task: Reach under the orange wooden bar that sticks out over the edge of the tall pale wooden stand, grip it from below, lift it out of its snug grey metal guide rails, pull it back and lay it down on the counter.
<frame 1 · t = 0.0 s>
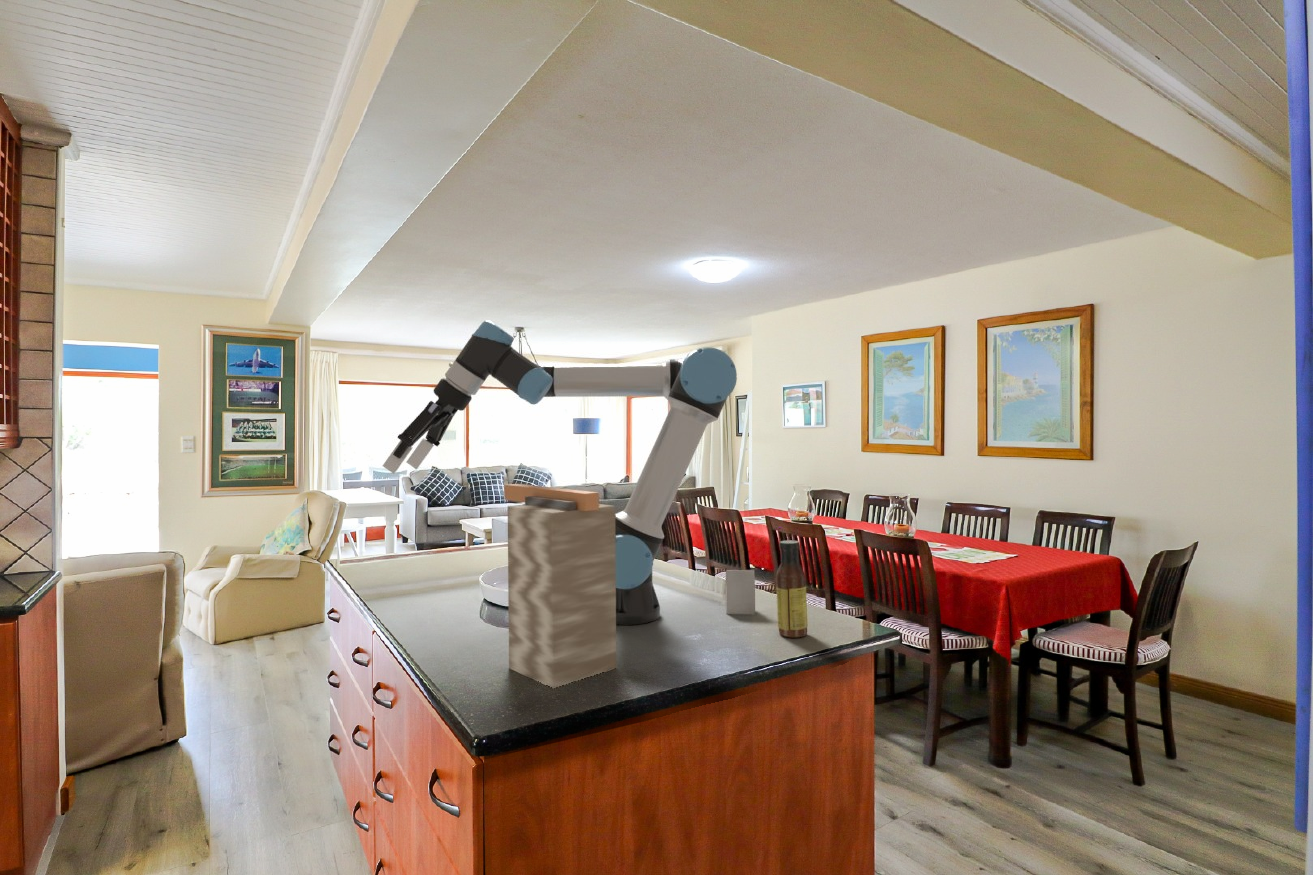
hand: (400, 467, 148), 36 cm above the countertop, tool tilted 35°, fingers open, 13 cm apart
sauce bottle: (791, 635, 148), on the countertop
light grey block: (740, 612, 166), on the countertop
pale stand: (562, 668, 128), on the countertop
orange bar: (548, 504, 130), point 30 cm above the countertop, touching pale stand
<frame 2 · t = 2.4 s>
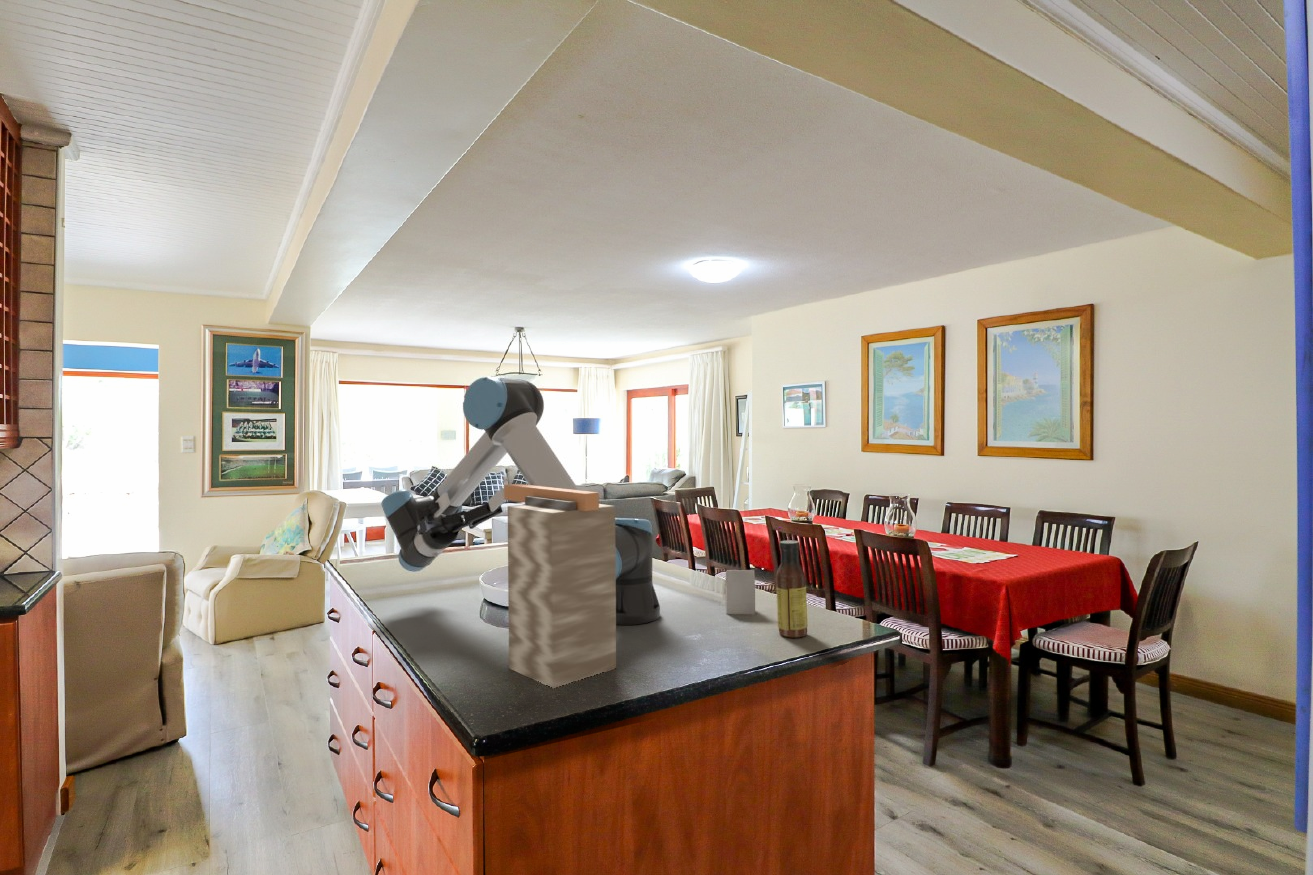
hand: (476, 495, 149), 30 cm above the countertop, tool pointing upward, fingers open, 13 cm apart
nothing on the countertop moved.
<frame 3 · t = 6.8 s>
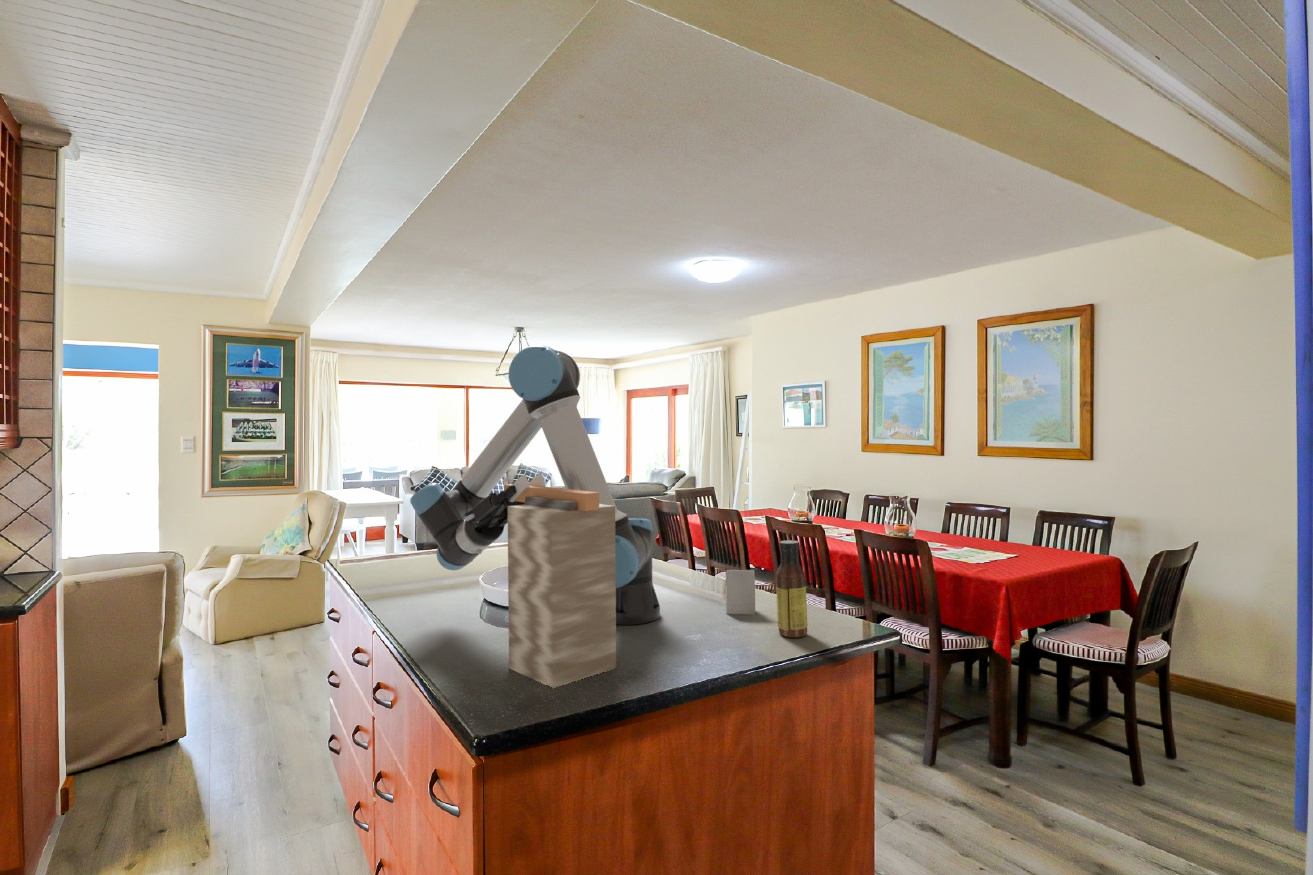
hand: (534, 480, 134), 34 cm above the countertop, tool pointing upward, fingers closed on orange bar, 3 cm apart
orange bar: (548, 504, 130), point 30 cm above the countertop, touching gripper, pale stand
everything else where it was.
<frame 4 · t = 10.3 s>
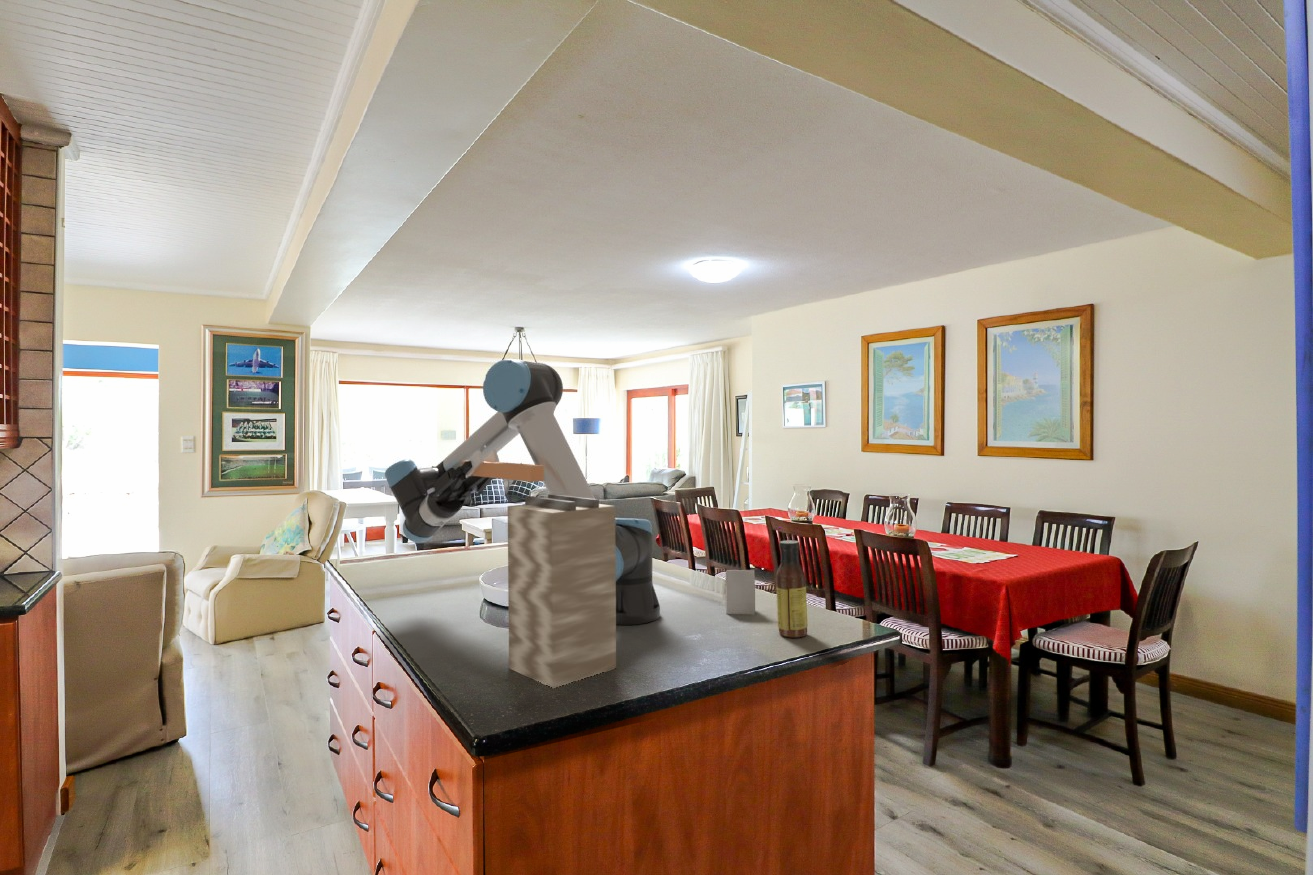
hand: (488, 456, 146), 38 cm above the countertop, tool pointing upward, fingers closed on orange bar, 3 cm apart
orange bar: (500, 477, 142), point 34 cm above the countertop, touching gripper
everything else where it was.
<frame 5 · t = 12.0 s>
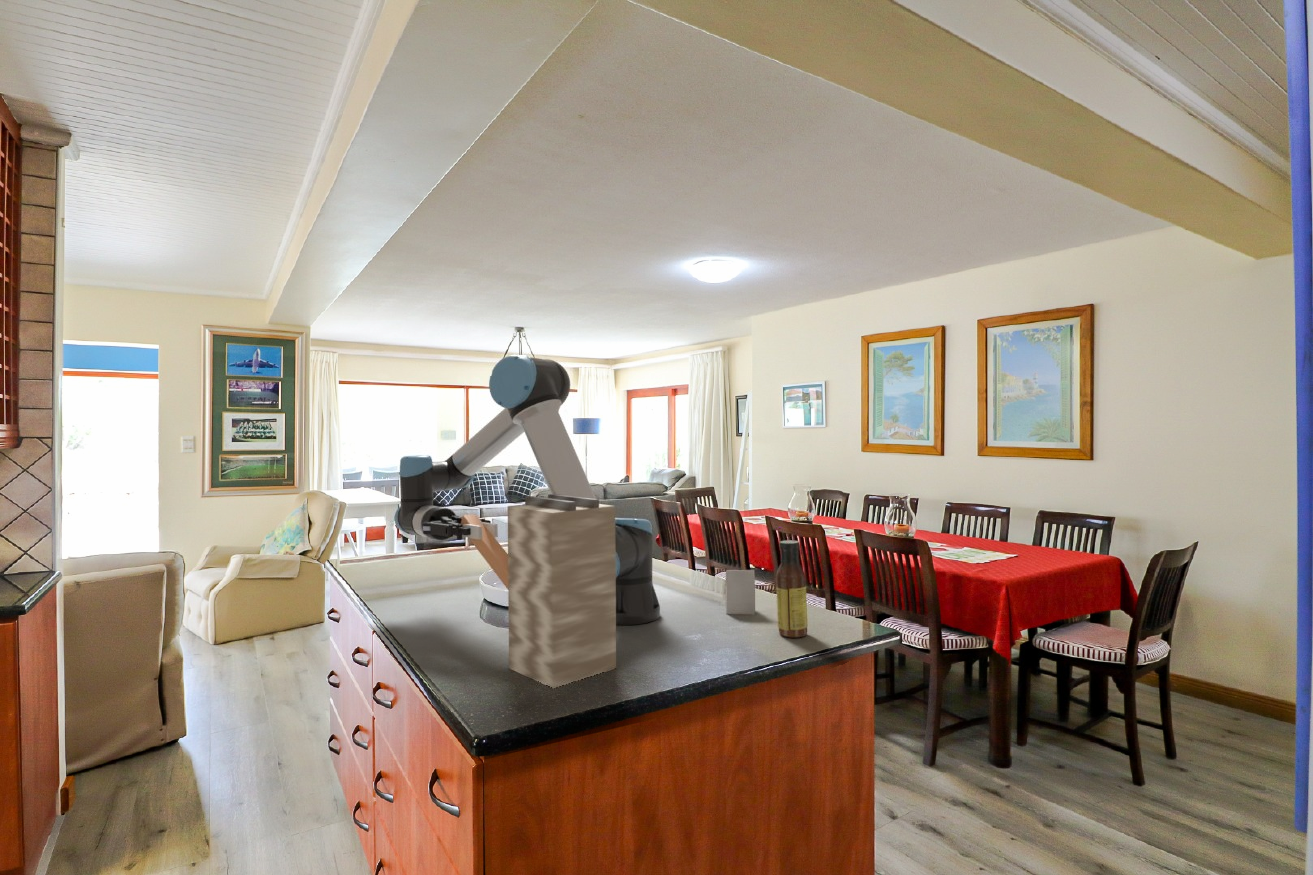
hand: (488, 531, 146), 22 cm above the countertop, tool horizontal, fingers closed on orange bar, 3 cm apart
orange bar: (493, 561, 145), point 16 cm above the countertop, tilted 29°, touching gripper
everything else where it was.
when the fingers open (13 cm above the countertop, at t = 14.0 s): orange bar drops 7 cm, on the countertop.
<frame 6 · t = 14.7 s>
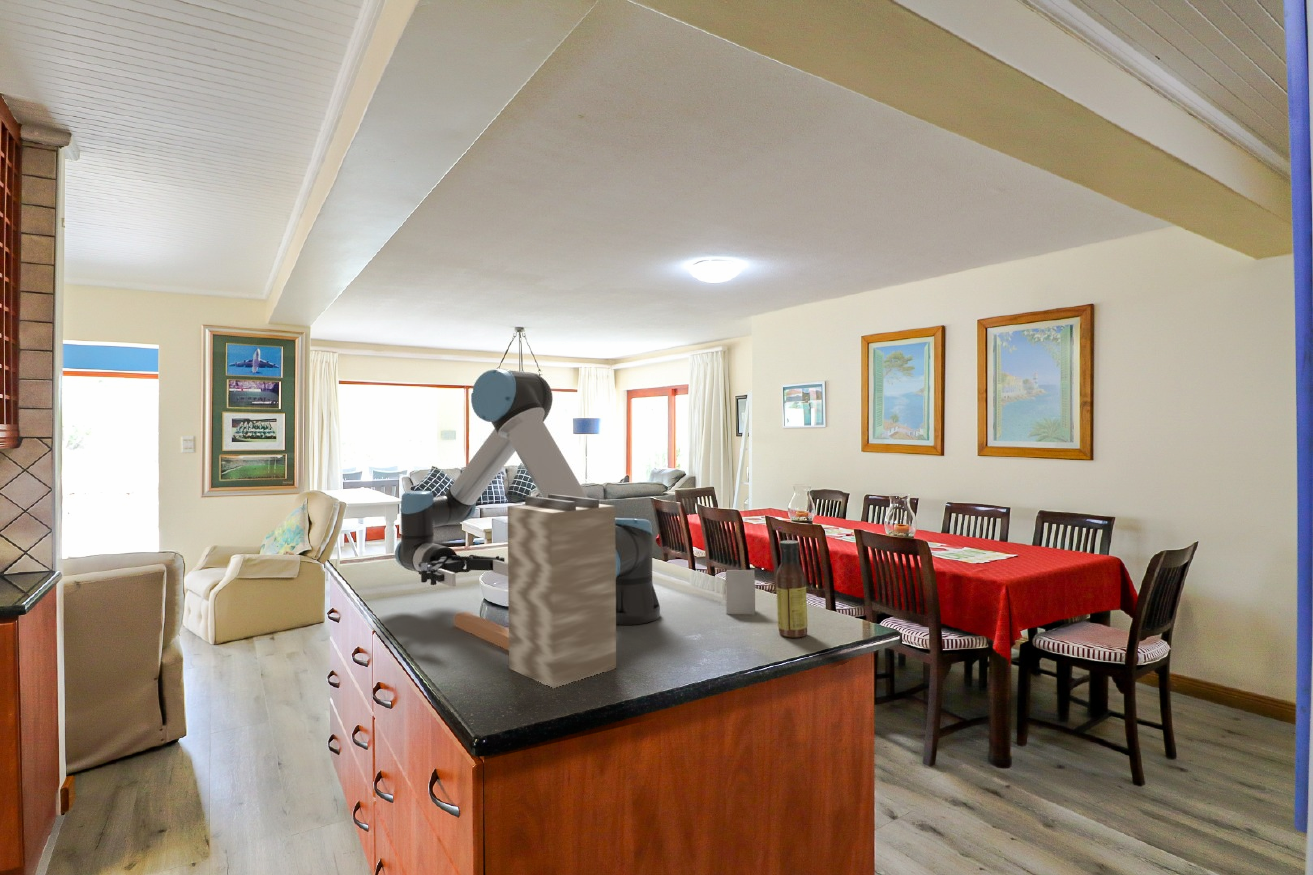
hand: (483, 574, 148), 13 cm above the countertop, tool horizontal, fingers open, 13 cm apart
orange bar: (489, 639, 147), on the countertop
everything else where it was.
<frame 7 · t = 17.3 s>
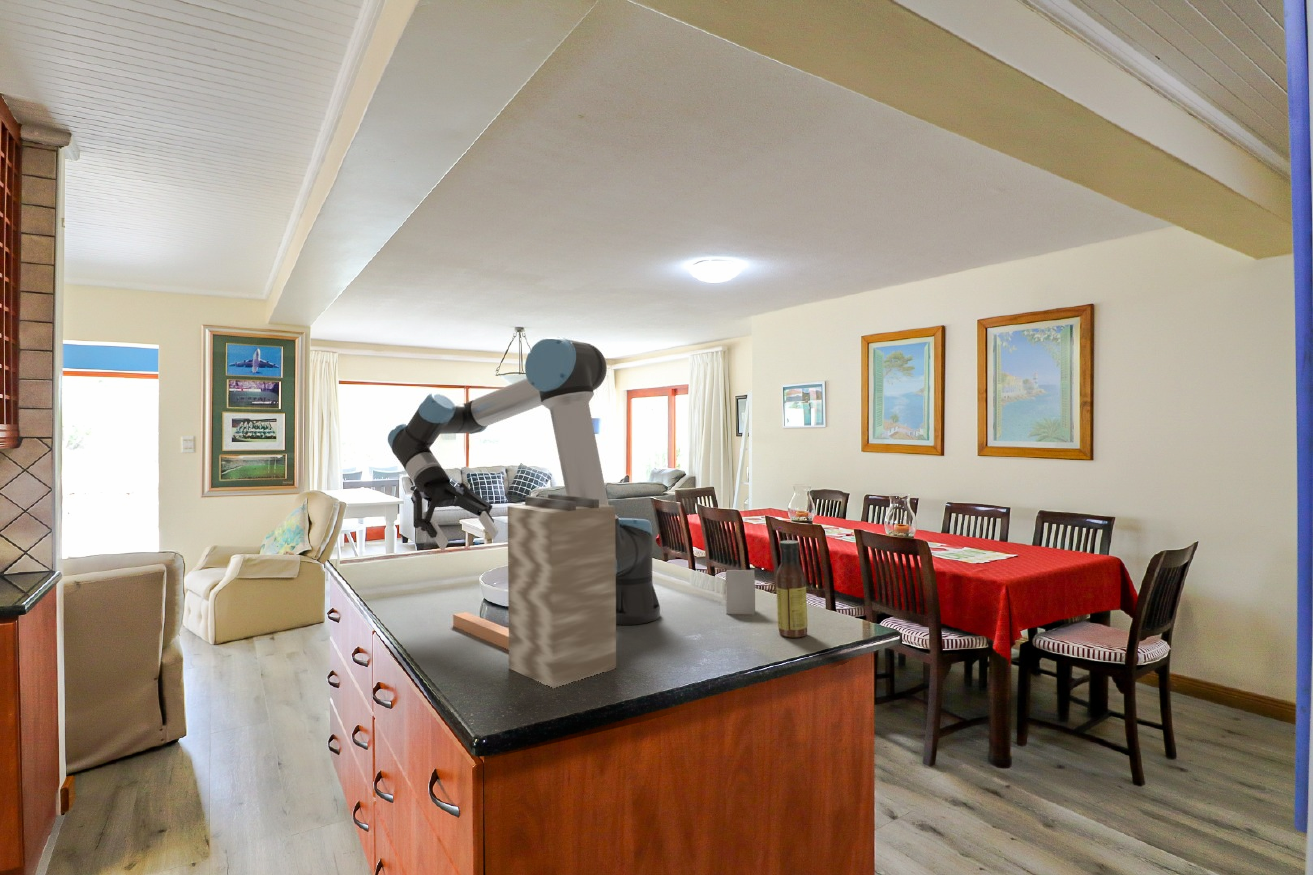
hand: (471, 540, 158), 19 cm above the countertop, tool tilted 50°, fingers open, 13 cm apart
nothing on the countertop moved.
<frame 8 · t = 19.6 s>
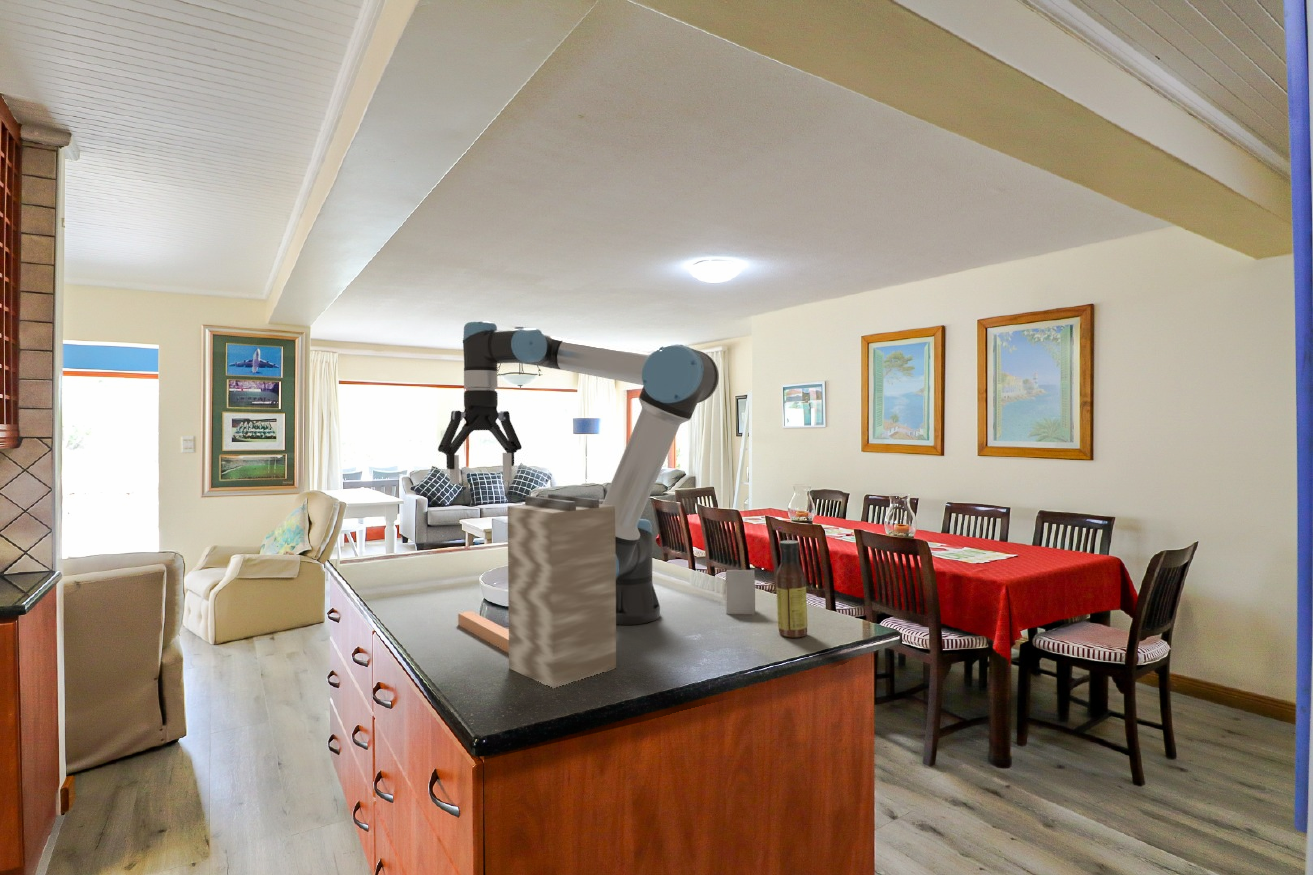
hand: (481, 482, 161), 32 cm above the countertop, tool pointing down, fingers open, 13 cm apart
at the end: orange bar on the countertop; orange bar moved 37.6 cm from its start; orange bar touching countertop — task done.
